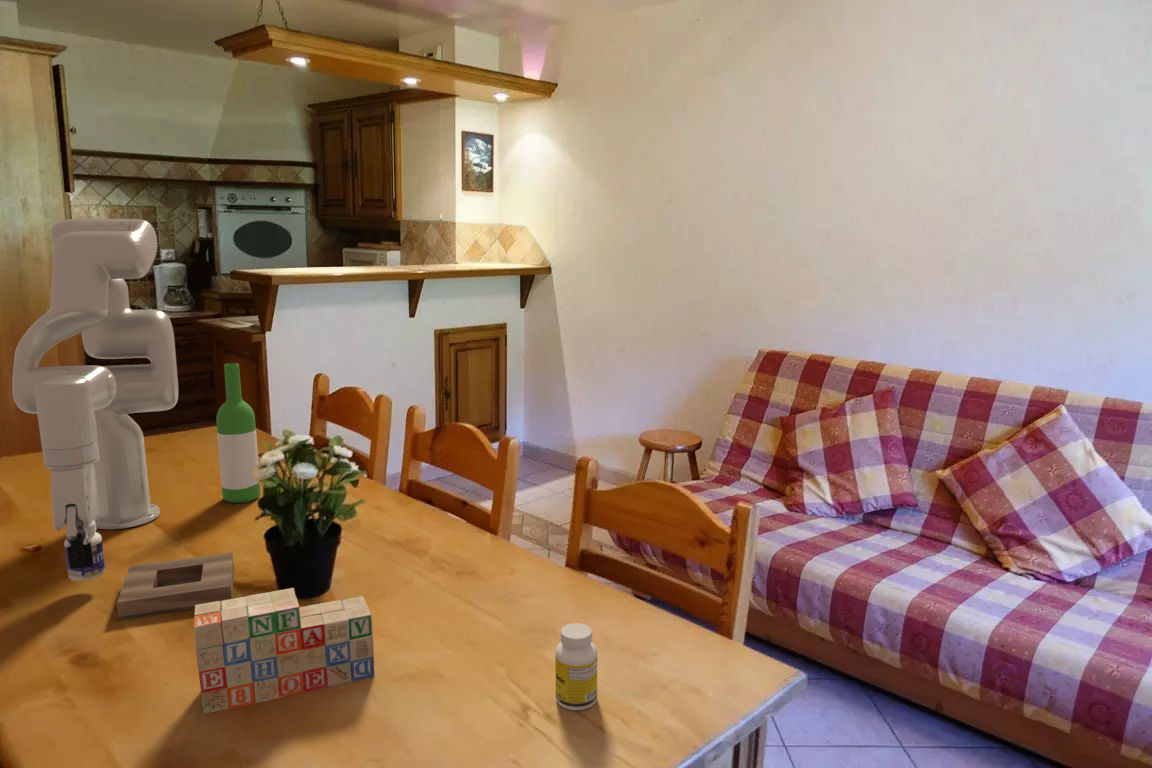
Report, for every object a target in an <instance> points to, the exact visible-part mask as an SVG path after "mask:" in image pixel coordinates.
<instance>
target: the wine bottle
mask: <svg viewBox="0 0 1152 768" xmlns="http://www.w3.org/2000/svg"><path fill="white" fill-rule="evenodd" d="M223 369H224V383H225V395H226V397H225V398H226V399H225V402H224V403H222V405H221V406H220V407H219V409H218V410H217V412H216V418H215V419H216V420H215V422H216V435H217V445H218V447H217V448H218V459H219V472H220V483H221V493H222V498H223V499H224V501H226V502H228V503H233V504H241V503H248V502H252V501H254V500H256V499H258V497H259V496H260V495H261V482H260V483H258V482H257V481H256V480H255V479H254V478H253V476H252V471H253V469H254V468H255V467H256V466H257V465H258V464H259V455H258V452H259V451H258V440H257V429H256V428H257V427H256V417H255V412H254V410H253V408H252V407H251V406H250V404H248V403H247V402H246V401H245V400H243V397H242V385H241V375H240V374H241V373H240V364H239V363H237V362H229V363H225V364H224V365H223Z"/></svg>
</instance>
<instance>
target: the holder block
mask: <svg viewBox="0 0 1152 768" xmlns="http://www.w3.org/2000/svg"><path fill="white" fill-rule="evenodd" d="M234 567H235V565H234V554H233V552H225V553H219V554H218V553H217V554H208V555H202V556H194V557H188V558H187V557H186V558H181V559H180V558H179V559H172V560H165V561H164V560H163V561H157V562H149V563H142V564H140V563H139V564H135V565H134V564H133V565H129V566H128V569H127V571H126V575H125V578H124V580H123V581H124V582H123V583H122V587H121V589H120V592H119V596H118V597H117V601H116V606H117V607H116V608H117V616H118V621H125V620H132V619H139V618H145V617H151V615H152V616H158V615H157V614H159V615H165V614H171V613H170V612H172V613H177V611H179V612H184V611H183V610H185V611H190V610H189V609H192V610H195V605H198V604H204V603H210V602H215V601H223V600H229V599H233V596H234V595H233V594H234V593H233V591H234V571H235V569H234ZM164 613H165V614H164Z"/></svg>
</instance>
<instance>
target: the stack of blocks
mask: <svg viewBox="0 0 1152 768" xmlns="http://www.w3.org/2000/svg"><path fill="white" fill-rule="evenodd" d="M364 597H365V596H363V595H360V596H357V597H351V598H345V599H342V600H341V599H338V600H337V599H336V600H331V601H326V602H322V603H316V604H311V605H306V606H300V605H299V601H298V598H297V595H296V591H295V588H294V587H290V588H285V589H279V590H272V591H269V592H267V591H266V592H263V593H256V594H251V595H246V596H241V597H236V598H235V597H234V598H232V599H229V600H223V601H215V602H210V603H204V604H198V605H195V609H194V617H193V618H194V619H193V620H194V623H193V628H194V638H195V639H194V640H195V651H196V652H195V653H196V662H197V670H198V679H199V685H200V687H199V688H200V692H201V693H200V694H201V704H202V714H204V715H206V714H210V713H215V712H218V711H225V710H231V709H235V708H241V707H245V706H249V705H253V704H258V703H264V702H268V701H272V700H277V699H280V698H284V697H285V698H286V697H288V696H294V695H298V694H302V693H304V692H309V691H314V690H315V691H316V690H319V689H324V688H327V687H329V688H330V687H333V686H339V685H342V684H347V683H350V682H357V681H362V680H366V679H370V678H373V677H374V678H375V658H374V656H375V653H374V650H375V649H374V635H373V623H372V622H373V621H372V614H371V613H372V612H371V610H370V608H369V606H368V605H367V601H366V599H365V598H364Z"/></svg>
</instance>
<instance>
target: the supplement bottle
mask: <svg viewBox="0 0 1152 768" xmlns="http://www.w3.org/2000/svg"><path fill="white" fill-rule="evenodd" d="M597 698H598V649H597V646H596V645H595V643H594V642H593V630H592V628H591V627H590V626H588V625H587V624H584V623H579V622H576V623H575V622H574V623H567V624H566V625H564V626H563V627H562V628H561V629H560V642H559V643H558V645H557V646H556V649H555V700H556V703H557V704H558V705H559V706H560V707H562V708H564V709H565V710H568V711H569V710H570V711H585V710H586V709H590V708H591V707H593V706H594V705H595V704H596V702H597V700H598V699H597Z"/></svg>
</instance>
